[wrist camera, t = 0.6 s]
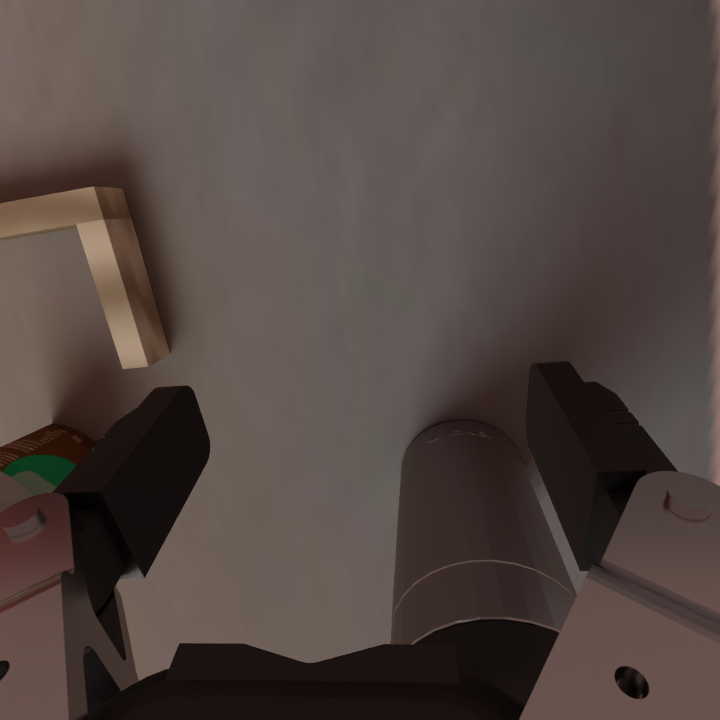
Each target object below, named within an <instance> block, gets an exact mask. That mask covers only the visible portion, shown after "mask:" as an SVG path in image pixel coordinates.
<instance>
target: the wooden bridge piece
mask: <svg viewBox="0 0 720 720" xmlns="http://www.w3.org/2000/svg"><path fill="white" fill-rule="evenodd" d="M71 228H77V229H78V232H79V235H80V238H81V241H82V244H83V247H84V250H85V253H86V257H87V260H88V263H89V266H90V269H91V272H92V275H93V278H94V281H95V284H96V288H97V291H98V294H99V297H100V300H101V303H102V306H103V309H104V312H105V316H106V319H107V322H108V325H109V328H110V331H111V334H112V337H113V340H114V344H115V347H116V350H117V353H118V356H119V359H120V362H121V365H122V368H123V369H130V368H140V367H148V366H150V365H152V364H154V363H155V362H157V361H159V360H160V359H162V358H164V357H165V356H167V355H169V354H170V351H169V348H168V344H167V341H166V337H165V334H164V330H163V327H162V323H161V320H160V316H159V313H158V309H157V306H156V302H155V299H154V295H153V292H152V288H151V285H150V281H149V278H148V274H147V270H146V267H145V263H144V260H143V256H142V253H141V249H140V246H139V242H138V239H137V235H136V232H135V228H134V225H133V221H132V218H131V214H130V211H129V207H128V204H127V200H126V197H125V193H124V190H123V188H111V187H96V186H93V187H87V188H82V189H76V190H71V191H65V192H60V193H54V194H49V195H43V196H37V197H32V198H26V199H21V200H15V201H10V202H4V203H0V240H4V239H10V238H16V237H22V236H28V235H34V234H40V233H46V232H52V231H59V230H65V229H71Z"/></svg>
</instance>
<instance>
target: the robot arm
mask: <svg viewBox="0 0 720 720" xmlns="http://www.w3.org/2000/svg"><path fill="white" fill-rule="evenodd" d="M526 433H527V439H528V444H529V447H530V450H531V452H532V454H533V457H534V459H535V462H536V464H537V467H538V469H539V472H540V474H541V476H542V479H543V481H544V484H545V486H546V489H547V491H548V494H549V496H550V498H551V501H552V503H553V506H554V508H555V511H556V513H557V516H558V518H559V520H560V523H561V525H562V528H563V530H564V533H565V535H566V538H567V540H568V542H569V545H570V547H571V550H572V552H573V555H574V557H575V560H576V562H577V564H578V567H579V569H580V571H589V572H588V574H587V576H586V578H585V580H584V582H583V584H582V586H581V588H580V591H579V593H578V595H577V594H576V591H575V589H574V586H573V584H572V582H571V579H570V577H569V574H568V572H567V569H566V567H565V564H564V562H563V560H562V557H561V555H560V552H559V550H558V547H557V545H556V543H555V540H554V538H553V535H552V533H551V530H550V528H549V525H548V523H547V521H546V518H545V516H544V513H543V511H542V508H541V506H540V504H539V501H538V499H537V496H536V494H535V491H534V489H533V486H532V483H531V481H530V479H529V476H528V474H527V471H526V469H525V467H524V464H523V462H522V459H521V457H520V455H519V453H518V451H517V449H516V448H515V446H514V444H513V443H512V442H511V441H510V440H509V439H508V438H507V437H506V436H505V435H504V434H502V433H501V432H499V431H498V430H497V429H495V428H493V427H490V426H488V425H486V424H483V423H479V422H474V421H468V420H455V421H449V422H444V423H441V424H438V425H436V426H433V427H431V428H429V429H427V430H426V431H424V432H423V433H421V434H420V435H419V436H418V437H417V438H416V439H415V440H414V441H413V442H412V443H411V445H410V446H409V448H408V449H407V451H406V453H405V456H404V458H403V461H402V469H401V482H400V496H399V510H398V526H397V542H396V558H395V574H394V591H393V607H392V628H391V644H383V645H379V646H376V647H372V648H368V649H365V650H361V651H357V652H353V653H350V654H346V655H342V656H339V657H335V658H331V659H327V660H324V661H320V662H316V663H304V662H300V661H297V660H294V659H291V658H288V657H284V656H281V655H278V654H275V653H272V652H269V651H265V650H262V649H259V648H256V647H253V646H249V645H246V644H195V643H179V646H178V648H177V651H176V653H175V656H174V658H173V661H172V663H171V665H170V668H169V669H166V670H163V671H161V672H158V673H156V674H153V675H150V676H148V677H146V678H144V679H142V680H140V681H139V680H138V677H137V673H136V669H135V664H134V659H133V654H132V648H131V643H130V638H129V633H128V628H127V623H126V618H125V612H124V607H123V602H122V598H121V595H120V593H119V591H118V589H117V588H116V586H115V585H116V584H117V582H118V580H119V579H128V578H145V576H146V574H147V573H148V571H149V569H150V567H151V565H152V563H153V561H154V560H155V558H156V556H157V554H158V552H159V550H160V549H161V547H162V545H163V543H164V541H165V539H166V537H167V536H168V534H169V532H170V530H171V528H172V526H173V524H174V523H175V521H176V519H177V517H178V515H179V513H180V512H181V510H182V508H183V506H184V504H185V502H186V500H187V499H188V497H189V495H190V493H191V491H192V489H193V487H194V486H195V484H196V482H197V480H198V478H199V476H200V475H201V473H202V471H203V469H204V467H205V465H206V463H207V461H208V458H209V454H210V440H209V436H208V432H207V429H206V426H205V423H204V420H203V417H202V414H201V411H200V408H199V405H198V402H197V399H196V396H195V393H194V391H193V390H192V388H191V387H189V386H172V387H158V388H155V389H154V390H153V391H152V392H151V393H150V394H149V395H148V396H147V397H146V399H145V400H144V401H143V402H142V403H141V404H140V405H139V406H138V408H137V409H135V410H133V411H132V412H130V413H129V414H127V415H126V416H124V417H123V418H121V419H120V420H118V421H117V422H116V423H115V424H114V425H113V426H112V427H111V428H110V429H109V430H108V431H107V432H106V434H105V435H104V436H103V440H99V441H98V442H97V443H96V445H95V446H94V447H93V448H92V452H88V453H87V454H86V456H85V457H84V458H83V459H82V460H81V461H80V462H79V463H78V464H77V465H76V467H75V468H74V469H73V470H72V471H71V472H70V473H69V474H68V475H67V476H66V478H65V479H64V480H63V481H62V482H61V483H60V484H59V485H58V486H57V487H56V489H55V490H54V491H53V492H52V493H44V494H39V495H35V496H32V497H29V498H26V499H24V500H22V501H20V502H17V503H16V504H14V505H12V506H10V507H8V508H7V509H5V510H4V511H2V512H1V513H0V720H720V487H719V486H718V485H716V484H714V483H712V482H710V481H708V480H706V479H703V478H700V477H698V476H695V475H691V474H687V473H682V472H678V471H677V470H676V468H675V467H674V466H673V465H672V463H671V462H670V461H669V460H668V458H667V457H666V456H665V455H664V453H663V452H662V451H661V450H660V448H659V447H658V446H657V445H656V443H655V442H654V441H653V440H652V438H651V437H650V436H649V435H648V433H647V432H646V431H645V430H644V428H643V427H642V426H639V422H638V421H637V420H636V418H635V417H634V416H633V415H632V413H629V412H628V408H627V407H626V406H625V405H624V403H623V402H622V401H621V400H620V398H619V397H618V396H617V395H616V394H615V393H613V392H612V391H610V390H609V389H607V388H605V387H604V386H602V385H600V384H599V383H597V382H583V380H582V379H581V377H580V376H579V374H578V373H577V372H576V370H575V369H574V367H573V366H572V365H571V363H570V362H568V361H564V362H547V363H533V364H532V365H531V368H530V374H529V387H528V400H527V413H526Z"/></svg>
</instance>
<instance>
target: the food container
mask: <svg viewBox="0 0 720 720" xmlns="http://www.w3.org/2000/svg"><path fill="white" fill-rule="evenodd" d="M95 445H96V442H95V441H94V440H92V439H91V438H89V437H88V436H87V435H85V434H83V433H81V432H80V431H78V430H75V429H73V428H70V427H67V426H63V425H57V424H50V425H48V426H46V427H44V428H42V429H39V430H37V431H35V432H33V433H31V434H28V435H26V436H24V437H22V438H20V439H17V440H15V441H13V442H11V443H9V444H6V445H4V446H2V447H0V513H1V512H2V511H4V510H5V509H7V508H8V507H10V506H12V505H14V504H16V503H17V502H20V501H22V500H24V499H26V498H29V497H32V496H35V495H39V494H44V493H52V492H53V491H54V490H55V489H56V487H57V486H58V485H59V484H60V483H61V482H62V481H63V480H64V479H65V478H66V476H67V475H68V474H69V473H70V472H71V471H72V470H73V469H74V468H75V467H76V465H77V464H78V463H79V462H80V461H81V460H82V459H83V458H84V457H85V456H86V454H87V453H88V452H92V448H93V447H94V446H95Z"/></svg>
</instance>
